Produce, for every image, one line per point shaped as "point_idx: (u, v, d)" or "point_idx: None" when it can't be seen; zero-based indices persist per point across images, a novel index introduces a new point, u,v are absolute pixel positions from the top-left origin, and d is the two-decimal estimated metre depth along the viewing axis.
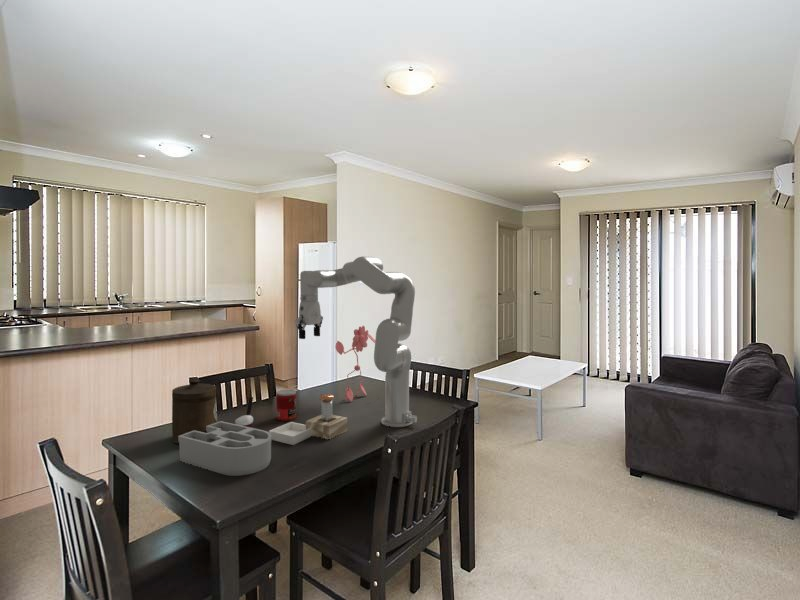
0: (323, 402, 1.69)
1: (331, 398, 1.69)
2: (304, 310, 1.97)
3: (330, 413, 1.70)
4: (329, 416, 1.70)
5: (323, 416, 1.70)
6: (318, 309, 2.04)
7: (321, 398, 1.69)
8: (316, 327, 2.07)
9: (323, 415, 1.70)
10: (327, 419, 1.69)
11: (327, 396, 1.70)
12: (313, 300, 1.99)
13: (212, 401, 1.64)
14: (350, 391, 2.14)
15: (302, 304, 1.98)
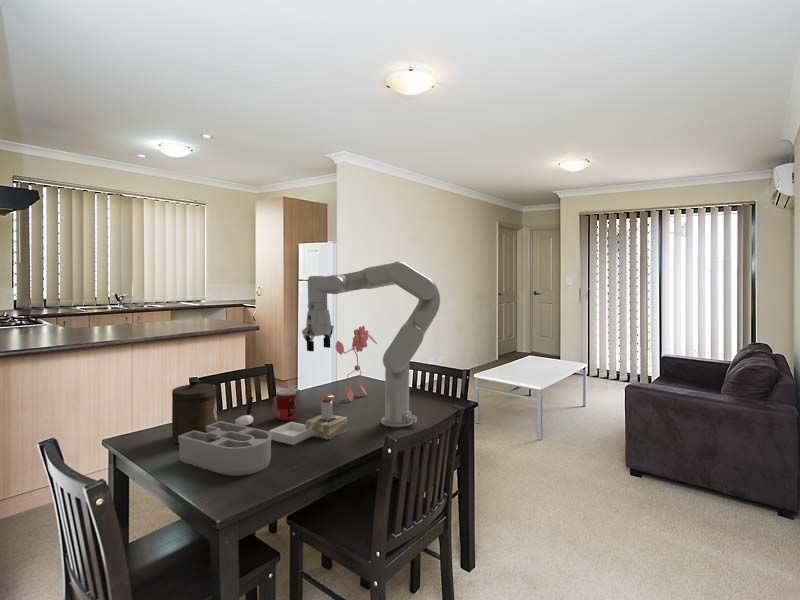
0: (323, 402, 1.69)
1: (331, 398, 1.69)
2: (312, 319, 1.78)
3: (330, 413, 1.70)
4: (329, 416, 1.70)
5: (323, 416, 1.70)
6: (328, 318, 1.84)
7: (321, 398, 1.69)
8: (326, 338, 1.88)
9: (323, 415, 1.70)
10: (327, 419, 1.69)
11: (327, 396, 1.70)
12: (322, 308, 1.80)
13: (212, 401, 1.64)
14: (350, 391, 2.14)
15: (310, 313, 1.79)
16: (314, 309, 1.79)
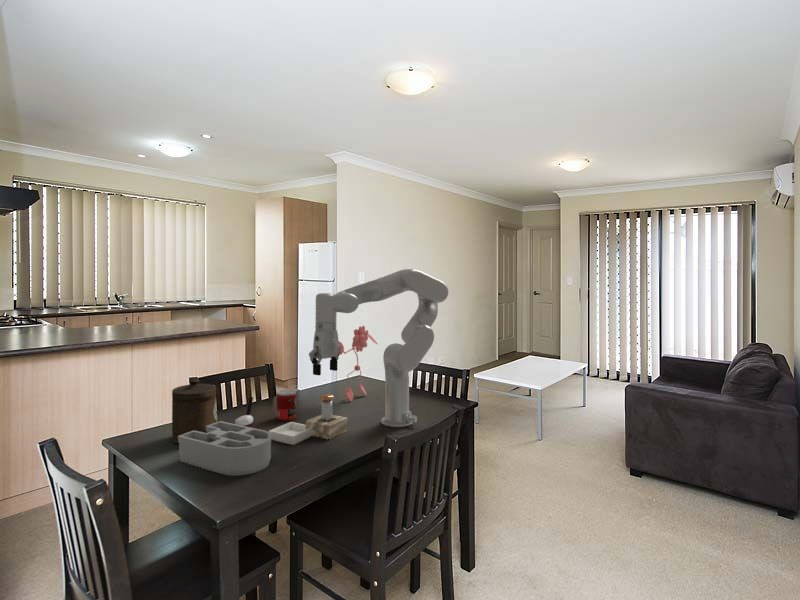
0: (323, 402, 1.69)
1: (331, 398, 1.69)
2: (320, 341, 1.65)
3: (330, 413, 1.70)
4: (329, 416, 1.70)
5: (323, 416, 1.70)
6: (336, 339, 1.71)
7: (321, 398, 1.69)
8: (333, 360, 1.74)
9: (323, 415, 1.70)
10: (327, 419, 1.69)
11: (327, 396, 1.70)
12: (331, 329, 1.66)
13: (212, 401, 1.64)
14: (350, 391, 2.14)
15: (317, 333, 1.65)
16: (322, 329, 1.66)
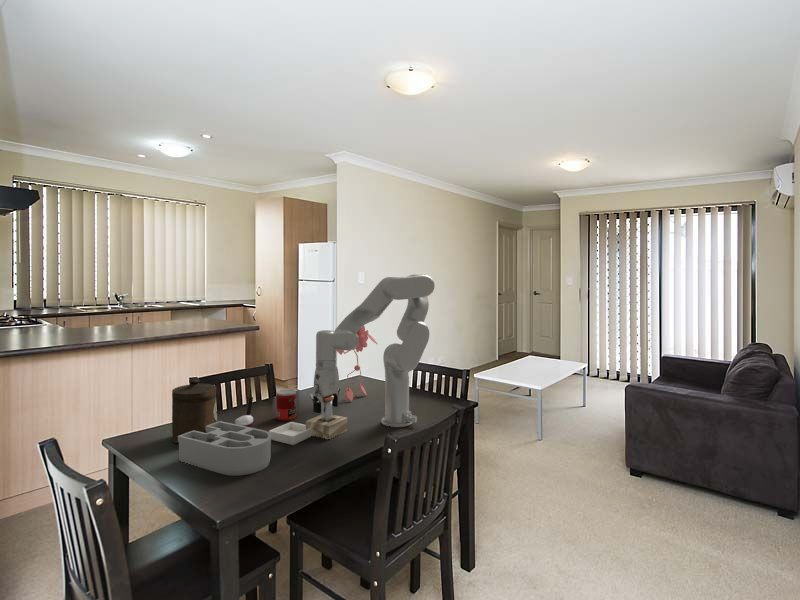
0: (323, 402, 1.69)
1: (331, 398, 1.69)
2: (320, 379, 1.65)
3: (330, 413, 1.70)
4: (329, 416, 1.70)
5: (323, 416, 1.70)
6: (336, 376, 1.72)
7: None
8: None
9: (323, 415, 1.70)
10: (327, 419, 1.69)
11: (327, 396, 1.70)
12: (331, 367, 1.67)
13: (212, 401, 1.64)
14: (350, 391, 2.14)
15: (318, 372, 1.66)
16: (323, 368, 1.66)
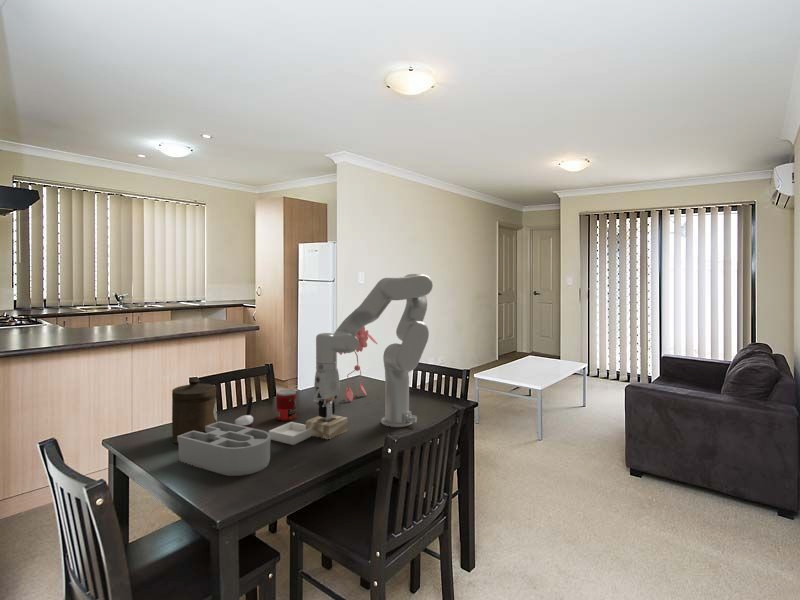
0: None
1: (331, 398, 1.69)
2: (321, 382, 1.66)
3: (330, 413, 1.70)
4: (329, 416, 1.70)
5: None
6: (337, 378, 1.72)
7: None
8: None
9: None
10: (327, 419, 1.69)
11: None
12: (331, 369, 1.67)
13: (212, 401, 1.64)
14: (350, 391, 2.14)
15: (318, 374, 1.66)
16: (323, 370, 1.67)
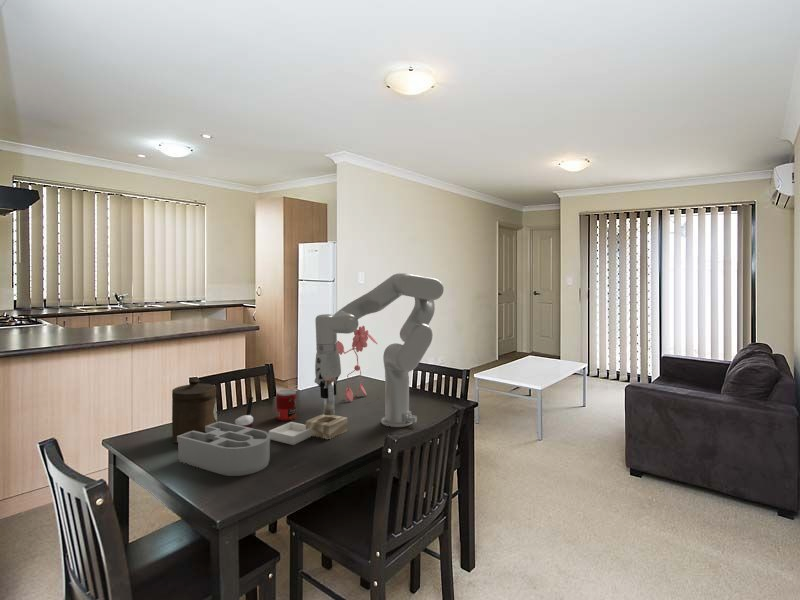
0: None
1: (332, 379, 1.69)
2: (322, 363, 1.65)
3: (332, 394, 1.70)
4: (331, 397, 1.70)
5: None
6: (337, 359, 1.71)
7: None
8: None
9: None
10: (328, 400, 1.69)
11: None
12: (332, 350, 1.67)
13: (212, 401, 1.64)
14: (350, 391, 2.14)
15: (319, 356, 1.66)
16: (323, 351, 1.66)
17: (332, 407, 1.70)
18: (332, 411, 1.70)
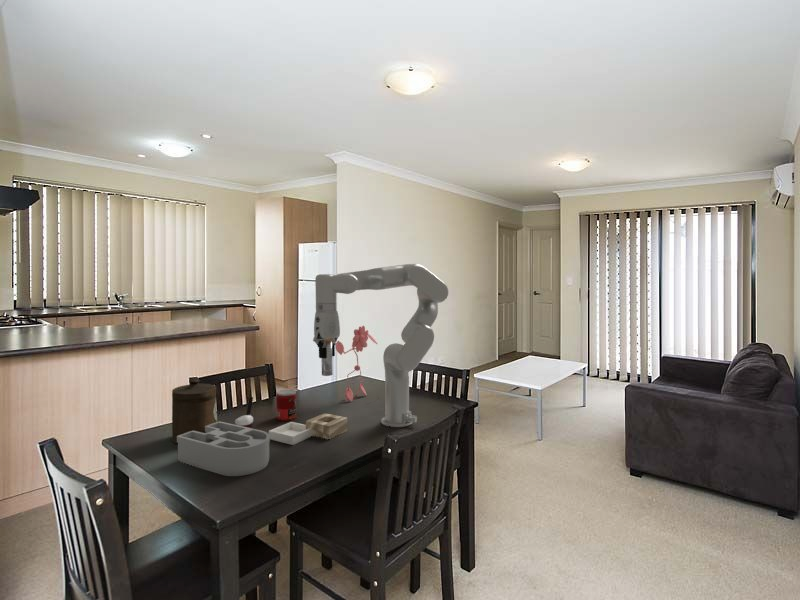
0: None
1: (331, 339, 1.68)
2: (321, 322, 1.64)
3: (330, 354, 1.69)
4: (329, 357, 1.68)
5: None
6: (337, 320, 1.70)
7: None
8: None
9: None
10: (327, 360, 1.68)
11: None
12: (331, 309, 1.66)
13: (212, 401, 1.64)
14: (350, 391, 2.14)
15: (318, 314, 1.65)
16: (323, 310, 1.65)
17: (330, 368, 1.69)
18: (330, 372, 1.69)
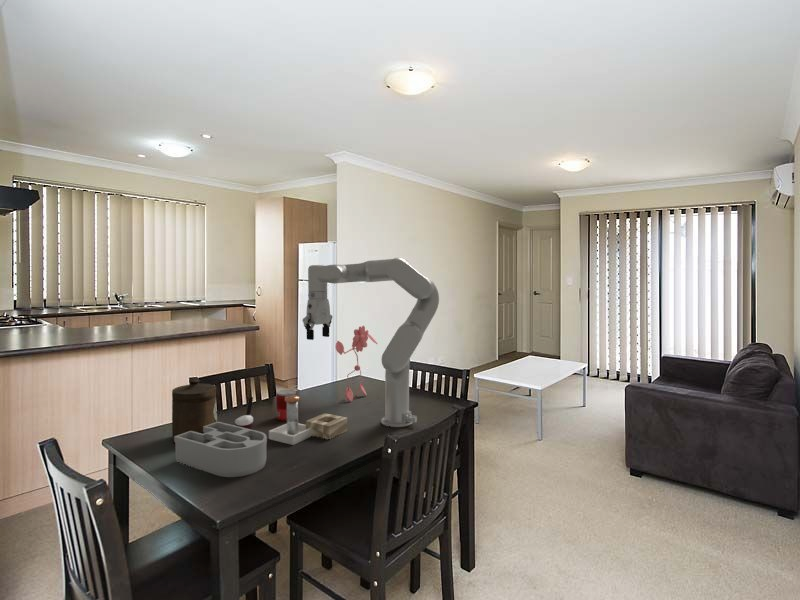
0: (288, 403, 1.65)
1: (296, 399, 1.65)
2: (312, 308, 1.80)
3: (296, 415, 1.66)
4: (294, 417, 1.65)
5: (288, 418, 1.65)
6: (327, 307, 1.86)
7: (286, 399, 1.64)
8: (325, 327, 1.89)
9: (289, 417, 1.65)
10: (292, 421, 1.65)
11: (292, 397, 1.65)
12: (322, 297, 1.82)
13: (212, 401, 1.64)
14: (350, 391, 2.14)
15: (310, 301, 1.81)
16: (314, 298, 1.81)
17: (295, 428, 1.66)
18: (295, 432, 1.66)
